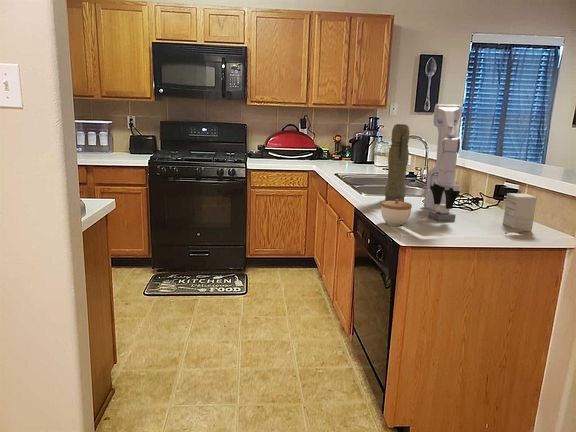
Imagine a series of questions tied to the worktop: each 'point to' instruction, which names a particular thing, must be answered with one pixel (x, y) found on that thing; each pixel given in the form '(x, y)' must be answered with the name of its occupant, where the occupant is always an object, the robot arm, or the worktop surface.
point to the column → (441, 209)
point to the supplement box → (519, 211)
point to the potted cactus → (397, 163)
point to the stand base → (441, 216)
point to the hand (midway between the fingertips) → (442, 206)
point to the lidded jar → (396, 212)
